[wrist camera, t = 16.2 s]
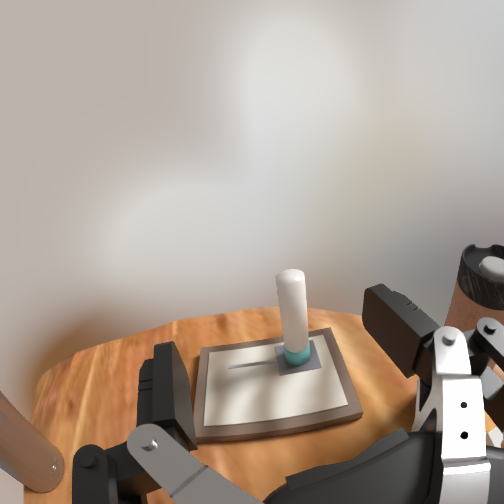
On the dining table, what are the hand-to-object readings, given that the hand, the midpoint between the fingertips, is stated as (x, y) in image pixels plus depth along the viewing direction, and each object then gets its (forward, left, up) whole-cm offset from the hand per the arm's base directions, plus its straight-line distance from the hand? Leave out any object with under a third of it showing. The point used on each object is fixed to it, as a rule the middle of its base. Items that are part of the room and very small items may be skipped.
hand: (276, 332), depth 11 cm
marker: (+3, +19, -22) cm, 29 cm away
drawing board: (-1, +16, -24) cm, 28 cm away
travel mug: (+20, +6, -24) cm, 31 cm away
